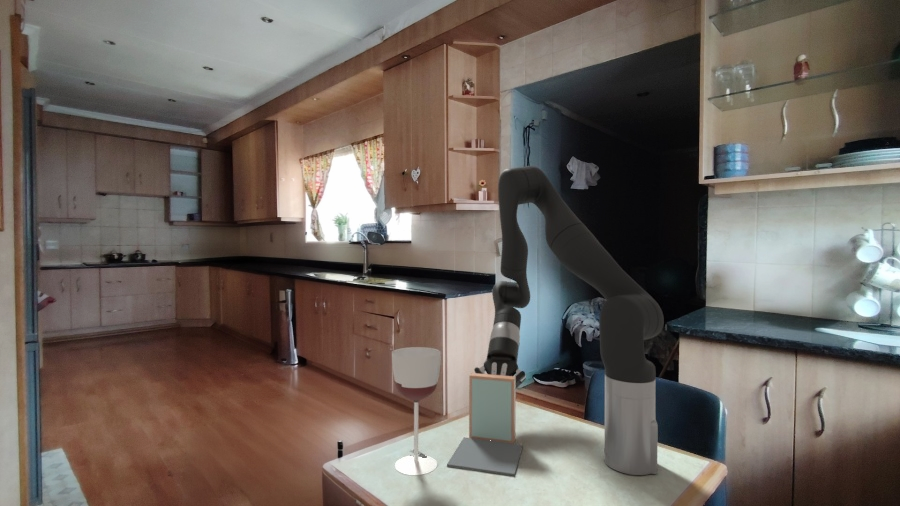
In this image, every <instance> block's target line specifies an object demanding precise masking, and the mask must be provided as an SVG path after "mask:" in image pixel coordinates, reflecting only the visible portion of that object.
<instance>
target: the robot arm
mask: <svg viewBox="0 0 900 506" xmlns="http://www.w3.org/2000/svg"><path fill="white" fill-rule="evenodd" d="M499 175H500V176H499V177H498V183H497V185H498V186H497V188H498V189H497V192H498V193H497V194H498V195H497V196H498V209H499V219H500V226H501V227H500V228H501V255H500V258H501V259H500V274H501V275H502V276H503V277H504V278H506V279H509V280H512V281H506V280H499V281H497V282H495V284H494V285H493V287H492V290H491V292H492V300H493V301H492V302H493V306H494V319H493V324H492V329H491V332H490V336H489V343H488V350H487V355H486V359H485V361H484V362H483V366H481V367H477V366H476V367H475V368H474V373H478V374H490V375H503V376H515V377H516V389H517V388H518V387H520V386H521V385H522V384H523V383H524V382H525V381H526V379H527V378H526V377H527V376H526V372H525V371H523V370H521V369H519V364H518V357H519V349H520V339H521V335H520V332H521V323H522V321H521V320H522V314H521V312H520V311H519V309H524V308H526V307H527V306H528V305H529V304H530V301H531V290H530V287H529V282H528V277H527V271H528V270H527V266H528V258H529V246H528V243H527V240H526V238H525V235H524V234H523V232H522V229H521V227H520V225H519V223H518V216H517V215H518V207H519V206H520V205H526V204H533V205H535V207H537V208H538V209H539V211H540V212H541V214H542V215H543V217H544V222H545V223H544V225H545V226H544V227H545V228H544V229H545V241H546V244H547V246H548V247H549V249H550V250H551V252H552V253H553V254H554V256H555V257H556V258H557V259H558V261H559V262H560V263H561V264H562V265H563V266H564V267H565V268H566V269H567V270H568V271H570V272H571V273H572V274H574V275H575V276H576V277H577V278H579V279H581V280H582V281H584V282H586V283H587V284H589V286H590V287H591V286H592V288H594V289H595V290H596V291H598V293H600V295H602V297H603V298H604V300H605V301H604V303H603V304H602V306H601V308H600V313H599V318H598V320H599V321H598V322H599V323H598V325H599V326H598V329H599V332H598V333H599V349H600V351H599V352H600V358H601V361H602V363H603V366H604V448H603V449H604V450H603V452H604V456H603V457H604V462H605V464H606V465H607V466H608V467H609V468H611V469H612V470H614V471H617V472H620V473H622V474H626V475H631V476H645V475H649V474H653V475H657V474H658V439H659V438H658V436H659V435H658V433H659V432H658V431H659V430H658V429H659V428H658V422H657V419H656V379H657V378H656V375H657V373H656V371H657V370H656V366H655V364H654V363H653V362H652V361H650V360H648V359H647V358H646V355H645V354H646V353H645V342H644V341H645V340H649V339H653V338H654V337H657V336H658V335H659V334H661V332H662V330H663V328H664V325H665V324H664V323H665V320H664V319H665V317H664V314H663V310H662V308H661V307H660V305H659V303H658V302H657V301H656V300H655V299H654V298H653V296H651V295H650V294H649V293H648V291H646V290H645V289H644V288H643V287H642V286H641V285H640V284H638V282H636V281H635V280H634V279H633V278H632V277H631V276H630V275H629V274H628V273H627V272H626V271H625V270H623V268H622V267H621V266H620V265H619V264H618V262H617V261H616V260H615V259H614V257H613V256H612V255H611V254H610V253H609V252H608V251H607V249H605V247H604V246H603V245H602V244H601V242H600V241H599V240H598V239H597V238H596V236H595V235H594V234H593V233H592V232H591V231H590V230H589V229H588V227H587V226H586V225H585V223H583V221H581V220H580V219H579V217H577V215H576V214H575V213H574V211H573V210H571V208H570V207H569V205H568V204H567V203H566V202H565V201H564V200H563V198H562V197H561V195H560V194H559V192H557V190H556V188H555V187H554V185H553V183H552V182H551V181H550V179H549V178H548V176H547V175H546V174H545V172H544V171H542V169H540V168H539V167H538V166H534V165H525V166H518V167H512V168H511V167H510V168H506V169H504V170H503V171H502V172H501V173H500V174H499ZM485 372H486V373H485Z"/></svg>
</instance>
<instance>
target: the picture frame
mask: <svg viewBox="0 0 900 506" xmlns="http://www.w3.org/2000/svg"><path fill="white" fill-rule="evenodd" d="M468 387H469V390H468V391H469V392H468V393H469V395H468V396H469V397H468V399H469V400H468V401H469V402H468V403H469V405H468V407H469V408H468V414H469V416H468V430H469V431H468V432H469V433H468V438H474V439H482V440H491V441H498V442H506V443H514V444H515V442H516V421H517V420H516V409H517V408H516V404H517V403H516V399H517V398H516V396H517V393H516V390H517V388H516V377H515V375H514V376H503V375H490V374H487V373H485V374H478V373H475V372H472V373H470V374H469V385H468Z"/></svg>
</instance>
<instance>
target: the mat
mask: <svg viewBox="0 0 900 506" xmlns="http://www.w3.org/2000/svg"><path fill="white" fill-rule="evenodd" d="M523 447H524V444H520V443H515V442H514V443H506V442H498V441H490V440H482V439H474V438H469V437H463V438H462V440H460V443H459V444H458V446H457V447H456V449H455V450H454V452H453V453H452V456H451V457H450V458H449V461H447V464H446V466H447V467H448V468H449V467H450V468H456V469H462V470H463V469H464V470H469V471H470V470H471V471H477V472H484V473H491V474H497V475H505V476H510V477H511V476H513V477H515V474H516V471H517V467H518V463H519V461H520V458H521V454H522V450H523Z"/></svg>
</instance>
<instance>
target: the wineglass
mask: <svg viewBox="0 0 900 506" xmlns="http://www.w3.org/2000/svg"><path fill="white" fill-rule="evenodd" d="M441 357H442V351H441V350H440V349H437V348H433V347H426V346H425V347H424V346H413V347H412V346H411V347H410V346H407V347H402V348H397V349H393V350H392V351H391V366H392V374H393V379H394V384H395V387H396V390H397V392H398V393H399V394H400V395H401V396H403V397H405V398H406V399H408V400H411V402H413V455H414V457H413V456H410V455H406V456H403V457H401V458H400V457H399V459H398V460H396V462H395V463H394V468H395V469H396V471H398V472H399V473H401V474H404V475H410V476H420V475H425V474H426V475H427V474H429V473H431V472H433V471H435V470H436V469H437V466H438V461H437V460H436V459H435V458H433V457H431V456H429V455H426V456H427V458H422V457H418V455H419V402H420V401H423V400H424V399H427V398H428V397H429V396H431V395H432V394H433V393H434V392H435V390H436V389H437V386H438V381H439V376H440V369H441V362H442V358H441Z"/></svg>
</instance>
